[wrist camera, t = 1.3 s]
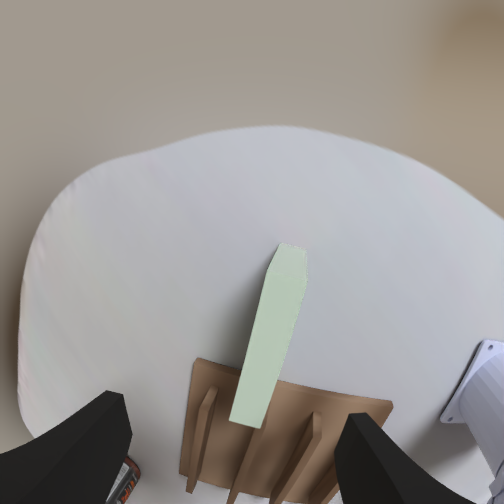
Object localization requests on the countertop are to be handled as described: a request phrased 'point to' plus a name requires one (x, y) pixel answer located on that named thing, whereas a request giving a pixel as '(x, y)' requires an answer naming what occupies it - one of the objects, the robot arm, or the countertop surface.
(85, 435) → the robot arm
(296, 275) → the pale green flat block
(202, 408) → the dish rack
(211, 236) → the countertop surface
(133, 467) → the supplement bottle
